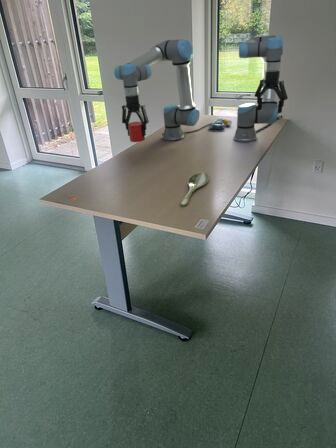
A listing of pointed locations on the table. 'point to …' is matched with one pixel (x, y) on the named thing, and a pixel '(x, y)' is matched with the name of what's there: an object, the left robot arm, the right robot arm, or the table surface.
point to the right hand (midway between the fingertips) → (269, 111)
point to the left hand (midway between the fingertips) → (137, 135)
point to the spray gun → (220, 124)
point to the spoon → (195, 184)
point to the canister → (135, 132)
